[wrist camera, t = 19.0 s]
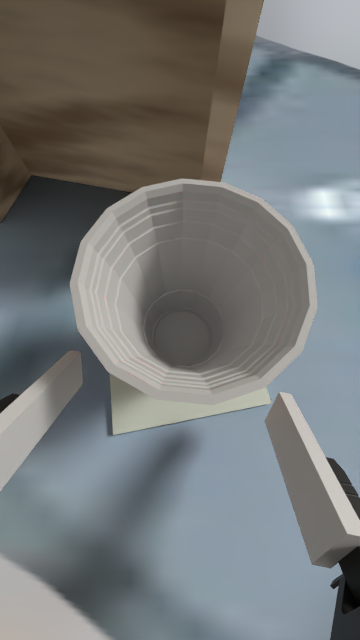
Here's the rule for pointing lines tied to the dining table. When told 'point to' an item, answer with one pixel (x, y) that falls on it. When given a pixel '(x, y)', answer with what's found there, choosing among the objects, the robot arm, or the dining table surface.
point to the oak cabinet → (120, 90)
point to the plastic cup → (193, 291)
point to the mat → (167, 407)
